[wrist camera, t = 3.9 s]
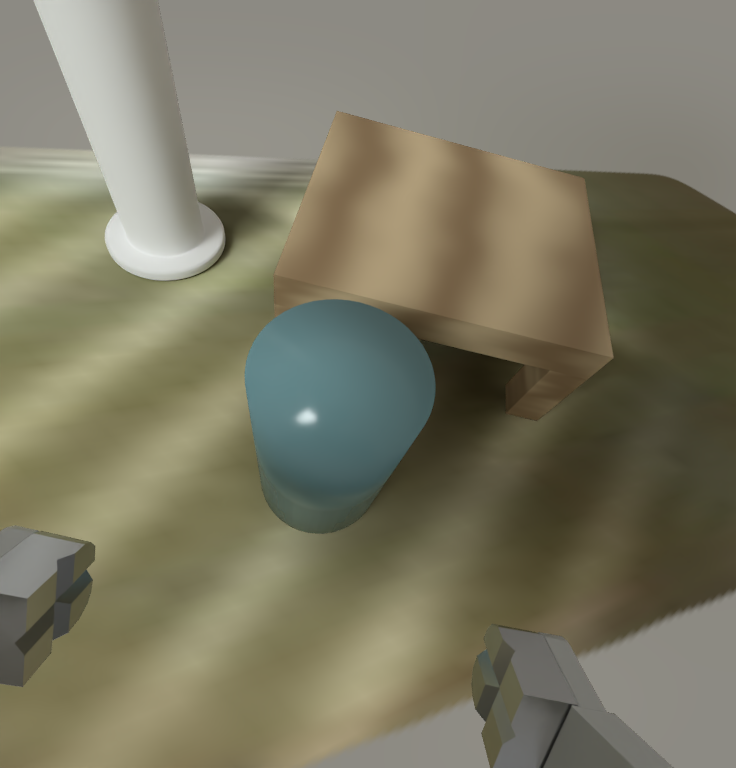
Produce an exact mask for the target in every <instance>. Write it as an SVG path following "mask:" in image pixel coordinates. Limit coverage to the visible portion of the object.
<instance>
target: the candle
mask: <svg viewBox="0 0 736 768" xmlns="http://www.w3.org/2000/svg"><path fill="white" fill-rule="evenodd" d="M34 3H35V5H36V8H37V10H38V13H39V15H40V18H41V20H42V23H43V26H44V28H45V31H46V33H47V36H48V38H49V41H50V43H51V46H52V48H53V51H54V53H55V56H56V58H57V61H58V63H59V66H60V68H61V71H62V73H63V76H64V78H65V81H66V84H67V86H68V89H69V91H70V93H71V96H72V99H73V101H74V104H75V106H76V109H77V111H78V114H79V116H80V119H81V121H82V124H83V126H84V129H85V131H86V134H87V136H88V139H89V142H90V144H91V147H92V149H93V152H94V154H95V157H96V159H97V162H98V164H99V167H100V169H101V172H102V174H103V177H104V179H105V182H106V184H107V187H108V189H109V192H110V194H111V197H112V199H113V202H114V205H115V207H116V210H117V212H116V213H115V214H114V215H113V216H112V218H111V219H110V221H109V222H108V224H107V227H106V230H105V242H106V246H107V248H108V251H109V253H110V255H111V256H112V258H113V259H114V261H115V262H116V263H117V264H118V265H119V266H121V267H122V268H123V269H125V270H126V271H128V272H130V273H132V274H134V275H137V276H140V277H143V278H147V279H152V280H163V281H168V280H179V279H184V278H188V277H191V276H194V275H197V274H199V273H201V272H203V271H205V270H206V269H208V268H209V267H210V266H212V265H213V264H214V263H215V262H216V261H217V260H218V259H219V257H220V256H221V254H222V252H223V250H224V247H225V231H224V227H223V224H222V222H221V220H220V219H219V217H218V216H217V215H216V214H215V213H214V212H213V211H212V210H211V209H210V208H208V207H207V206H205V205H203V204H201V203H200V202H198V199H197V194H196V189H195V184H194V179H193V174H192V169H191V164H190V159H189V154H188V149H187V144H186V140H185V134H184V129H183V124H182V119H181V114H180V109H179V104H178V99H177V94H176V89H175V84H174V79H173V74H172V69H171V64H170V59H169V54H168V49H167V44H166V39H165V34H164V29H163V24H162V19H161V13H160V9H159V3H158V0H34Z"/></svg>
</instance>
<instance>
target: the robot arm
mask: <svg viewBox="0 0 736 768" xmlns="http://www.w3.org/2000/svg"><path fill="white" fill-rule="evenodd" d="M94 561H95V545H94V544H92V543H91V542H88V541H84V540H79V539H75V538H71V537H66V536H62V535H58V534H53V533H49V532H44V531H38V530H33V529H29V528H25V527H20V526H16V525H15V526H11V527H6V528H5V529H3V530H2V531H0V684H6V685H13V686H20V687H23V686H24V685H25V684H26V682H27V681H28V680H29V679H30V678H31V676H32V675H33V674H34V673H35V672H36V671H37V669H38V668H39V667H40V666H41V665H42V663H43V662H44V661H45V660H46V659H47V657H48V656H49V655H50V654H51V650H52V640H54V639H56V638H58V637H60V636H62V635H64V634H66V633H68V632H69V631H70V630H71V629H72V627H73V626H74V625H75V624H76V622H77V621H78V620H79V618H80V616H81V615H82V613H83V611H84V609H85V607H86V605H87V603H88V600H89V597H90V594H91V590H92V582H93V580H92V578H91V576H90V575H89V573H88V571H87V570H86V569H87V568H88V567H89V566H90V565H91V564H92V563H93V562H94ZM484 641H485V645H486V648H487V649H486V650H485V651H483V652H482V653H480V654H479V655H478V656H477V658H476V661H475V664H474V667H473V672H472V683H471V685H472V696H473V701H474V705H475V709H476V710H477V712H478V713H479V714H480V716H481V717H482V718H483V719H484V721H485V722H486V723H485V726H484V728H483V731H482V737H483V741H484V745H485V749H486V753H487V757H488V761H489V765H490V768H673V767H672V766H671V765H670V764H669V763H668V762H667V761H666V760H664V759H663V758H662V757H661V756H660V755H659V754H658V753H657V752H656V751H655V750H654V749H652V748H651V747H650V746H649V745H648V744H647V743H646V742H645V741H644V740H643V739H642V738H640V737H639V736H638V735H637V734H636V733H635V732H634V731H633V730H632V729H631V728H630V727H628V726H627V725H626V724H625V723H624V722H623V721H622V720H621V719H620V718H619V717H617V716H616V715H615V714H614V713H609V712H606V710H605V708H604V706H603V705H602V703H601V701H600V699H599V697H598V696H597V694H596V692H595V690H594V688H593V686H592V685H591V683H590V681H589V679H588V677H587V676H586V674H585V672H584V670H583V668H582V667H581V665H580V663H579V661H578V659H577V657H576V656H575V654H574V652H573V650H572V648H571V647H570V645H569V643H568V641H567V640H566V639H564V638H563V637H562V636H557V635H552V634H546V633H541V632H538V633H536V632H532V631H527V630H522V629H517V628H512V627H507V626H502V625H496V624H491V625H490V626H489V628H488V629H487V631H486V634H485V636H484Z"/></svg>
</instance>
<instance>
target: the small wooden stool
mask: <svg viewBox="0 0 736 768" xmlns="http://www.w3.org/2000/svg"><path fill="white" fill-rule="evenodd" d="M326 299H340V300H350V301H355V302H360V303H364V304H367V305H371V306H373V307H375V308H378V309H380V310H382V311H384V312H386V313H388V314H390V315H392V316H393V317H395V318H396V319H398V320H399V321H400V322H402V323H403V324H404V325H405V326H406V327H408V328H409V329H410V331H411V332H412V333H413V334H414V335H415V336H416V337H417V338H418V339H422V340H426V341H430V342H434V343H438V344H442V345H447V346H451V347H455V348H459V349H463V350H467V351H471V352H476V353H480V354H484V355H488V356H492V357H496V358H500V359H505V360H509V361H513V362H517V363H521V364H525V365H524V366H523V367H522V368H521V369H520V370H519V371H518V372H517V373H516V374H515V375H514V377H513V378H512V379H511V380H510V381H509V382H508V383H507V384H506V414H510V415H515V416H519V417H523V418H527V419H532V420H536V421H537V420H539V419H540V418H541V417H542V416H544V415H545V414H546V413H547V412H548V411H550V410H551V409H552V408H553V407H555V406H556V405H557V404H558V403H559V402H561V401H562V400H563V399H564V398H565V397H567V396H568V395H569V394H570V393H572V392H573V391H574V390H575V389H576V388H578V387H579V386H580V385H581V384H583V383H584V382H585V381H586V380H587V379H589V378H590V377H591V376H592V375H594V374H595V373H596V372H597V371H598V370H600V369H601V368H602V367H603V366H604V365H606V364H607V363H608V362H609V361H611V360H612V359H613V358H614V357H613V351H612V345H611V339H610V333H609V326H608V320H607V314H606V308H605V302H604V296H603V290H602V284H601V278H600V271H599V265H598V259H597V253H596V247H595V241H594V235H593V229H592V222H591V216H590V210H589V204H588V198H587V192H586V186H585V180H584V178H581V177H578V176H574V175H570V174H567V173H563V172H559V171H556V170H552V169H548V168H545V167H541V166H537V165H534V164H530V163H526V162H522V161H519V160H515V159H511V158H508V157H504V156H501V155H497V154H493V153H490V152H486V151H482V150H478V149H475V148H471V147H468V146H464V145H460V144H457V143H453V142H449V141H446V140H442V139H438V138H435V137H431V136H427V135H424V134H420V133H416V132H413V131H409V130H405V129H401V128H398V127H394V126H390V125H387V124H383V123H379V122H376V121H372V120H369V119H365V118H361V117H358V116H354V115H350V114H347V113H343V112H339V111H337V112H336V115H335V118H334V120H333V123H332V125H331V128H330V130H329V133H328V135H327V138H326V141H325V143H324V146H323V148H322V151H321V154H320V156H319V159H318V161H317V164H316V166H315V169H314V172H313V174H312V177H311V179H310V182H309V184H308V187H307V190H306V192H305V195H304V197H303V200H302V203H301V205H300V208H299V210H298V213H297V215H296V218H295V221H294V223H293V226H292V228H291V231H290V234H289V236H288V239H287V241H286V244H285V246H284V249H283V252H282V254H281V257H280V259H279V262H278V265H277V267H276V270H275V272H274V307H275V317H277V316H279V315H280V314H282V313H283V312H285V311H287V310H289V309H291V308H293V307H295V306H298V305H301V304H304V303H308V302H312V301H318V300H326Z"/></svg>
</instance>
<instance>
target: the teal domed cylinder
mask: <svg viewBox="0 0 736 768" xmlns="http://www.w3.org/2000/svg"><path fill="white" fill-rule="evenodd" d="M245 387H246V393H247V399H248V405H249V412H250V418H251V424H252V430H253V436H254V442H255V449H256V455H257V461H258V467H259V473H260V480H261V485H262V491H263V494H264V497H265V499H266V501H267V503H268V505H269V507H270V508H271V510H272V511H273V512H274V513H275V514H276V515H277V517H278V518H280V519H281V520H282V521H283V522H284V523H286V524H288V525H289V526H291V527H293V528H295V529H298V530H300V531H304V532H308V533H315V534H324V533H331V532H335V531H338V530H341V529H343V528H346V527H348V526H349V525H351V524H353V523H354V522H355V521H357V520H358V519H359V518H360V517H361V516H362V515H363V514H364V513H365V512H366V510H367V509H368V508H369V506H370V505H371V503H372V502H373V500H374V499H375V497H376V496H377V495H378V493H379V492H380V490H381V489H382V487H383V486H384V484H385V483H386V481H387V480H388V478H389V477H390V475H391V474H392V472H393V471H394V470H395V468H396V467H397V465H398V464H399V462H400V461H401V459H402V458H403V456H404V455H405V453H406V452H407V450H408V449H409V448H410V446H411V445H412V443H413V442H414V440H415V439H416V437H417V436H418V434H419V433H420V431H421V430H422V428H423V427H424V426H425V424H426V422H427V420H428V418H429V416H430V414H431V411H432V408H433V405H434V399H435V376H434V371H433V367H432V364H431V361H430V359H429V356H428V354H427V352H426V350H425V349H424V347H423V345H422V344H421V342H420V341H419V340H418V338H417V337H416V336H415V335H414V334H413V333H412V332H411V331H410V329H409V328H408V327H406V326H405V325H404V324H403V323H402V322H400V321H399V320H398V319H396V318H395V317H393V316H392V315H390V314H388V313H386V312H384V311H382V310H380V309H378V308H375V307H373V306H371V305H367V304H364V303H360V302H355V301H350V300H340V299H326V300H318V301H312V302H308V303H304V304H301V305H298V306H295V307H293V308H291V309H289V310H287V311H285V312H283V313H282V314H280V315H279V316H277V317H275V318H274V319H273V320H272V321H271V322H270V323H268V324H267V325H266V326H265V327H264V329H263V330H262V331H261V332H260V333H259V335H258V336H257V338H256V339H255V341H254V342H253V344H252V347H251V349H250V351H249V354H248V357H247V361H246V367H245Z"/></svg>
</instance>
